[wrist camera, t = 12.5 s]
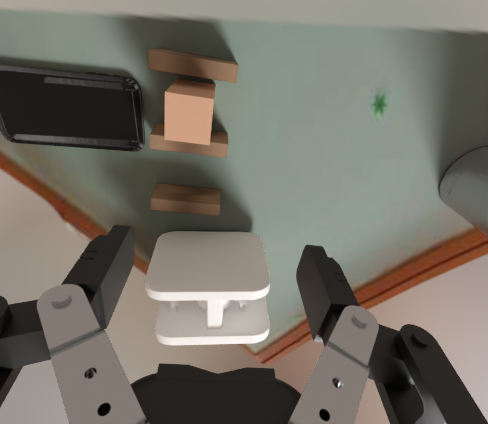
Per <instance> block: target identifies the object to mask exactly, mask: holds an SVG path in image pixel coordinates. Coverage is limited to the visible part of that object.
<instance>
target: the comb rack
mask: <svg viewBox="0 0 488 424" xmlns="http://www.w3.org/2000/svg"><path fill="white" fill-rule="evenodd" d="M148 69H152V70H158V71H164V72H171V73H177V74H183V75H189V76H196V77H202V78H208V79H215V80H221V81H227V82H233V83H236V79H237V72H238V64H237V62H235V61H230V60H224V59H218V58H212V57H206V56H200V55H194V54H188V53H182V52H176V51H171V50H165V49H159V48H155V49H151V50H148ZM164 133H165V125H163V124H157V125H156V126H155V127H154V129H153V130H152V132H151V133H150V149H159V150H167V151H175V152H183V153H191V154H200V155H208V156H216V157H224V158H226V157H227V149H228V135H227V133H223V132H215V131H211V137H210V145H203V144H195V143H187V142H179V141H171V140H164ZM151 210H161V211H172V212H182V213H193V214H204V215H215V216H219V211H220V190H218V189H209V188H199V187H190V186H180V185H171V184H161V183H157V185H156V187H155V190H154V192H153V194H152V197H151Z"/></svg>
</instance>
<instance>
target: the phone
mask: <svg viewBox="0 0 488 424" xmlns="http://www.w3.org/2000/svg"><path fill="white" fill-rule="evenodd" d="M0 131H1V133H2V135H3V136H4V137H5V138H6V139H7V140H9V141H11V142H15V143H26V144H40V145H53V146H67V147H81V148H94V149H108V150H122V151H139V150H141V149H142V148H143V146H144V144H145V132H144V119H143V106H142V94H141V87H140V85H139V83H138V82H137V81H136V80H134V79H133V78H129V77H120V76H116V75H114V76H110V75H108V74H96V73H90V72H86V73H81V72H71V71H61V70H51V69H41V68H32V67H22V66H12V65H2V64H0Z"/></svg>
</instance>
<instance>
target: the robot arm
mask: <svg viewBox="0 0 488 424" xmlns="http://www.w3.org/2000/svg"><path fill="white" fill-rule="evenodd" d="M440 197H441V199H442V201H443V202H444V203H445V204H446V205H447V206H449V207H450V208H451V209H453V210H454V211H455V212H456V213H458V214H459V215H460V216H462V217H463V218H464V219H465V220H467V221H468V222H469V223H471V224H472V225H473V226H475V227H476V228H477V229H478V230H480V231H481V232H482V233H484V234H485V235H486V236H488V147H483V148H479V149H476V150H473V151H471V152H469V153H467V154H466V155H464V156H462V157H461V158H460V159H458V160H457V161H456V162H455V163H454V164H453V165H452V166H451V167H450V168H449V169H448V171H447V172H446V174H445V175H444V177H443V179H442V181H441V185H440ZM134 256H135V251H134V231H133V227H130V226H120V225H114V226H113V227H112V229H111V231H110V232H109V234H108V236H106V235H99V236H98V237H97V238H95V239H94V240H92V241H91V242H90V243H89V244H88V246H87V248H86V249H85V251H84V252H83V253H82V255H81V256H80V259H78V261H77V262H76V264H75V265H74V267H73V268H72V270H71V271H70V273H69V274H68V275H67V277H66V279H65V280H64V281H63V283H62V284H61V285H59V286H56V287H53V288H51V289H49V290H48V291H46V292H45V293H43V294H42V296H40V298H39V299H38V300H34V301H28V302H22V303H16V304H10V305H8V303H7V300H6V299H5V298H4V297H2V296H0V407H1V405H2V403H3V401H4V400H5V398H6V396H7V394H8V392H9V391H10V389H11V387H12V385H13V383H14V382H15V380H16V378H17V376H18V374H19V373H20V371H21V369H22V367H23V366H25V365H29V364H33V363H37V362H41V361H46V360H50V359H51V360H52V364H53V367H54V371H55V375H56V378H57V382H58V385H59V389H60V392H61V396H62V399H63V403H64V406H65V410H66V413H67V417H68V420H69V424H354V421H355V418H356V414H357V411H358V408H359V404H360V401H361V398H362V394H363V391H364V387H365V384H366V381H367V378H370V379H372V380H374V381H375V384H376V387H377V389H378V392H379V395H380V397H381V400H382V403H383V406H384V408H385V411H386V413H387V416H388V419H389V422H390V424H488V422H487V421H486V419H485V417H484V416H483V414H482V413H481V411H480V409H479V408H478V406H477V405H476V403H475V402H474V400H473V398H472V397H471V395H470V394H469V392H468V390H467V389H466V387H465V385H464V384H463V382H462V381H461V379H460V377H459V376H458V374H457V373H456V371H455V369H454V368H453V366H452V365H451V363H450V362H449V360H448V358H447V357H446V355H445V354H444V352H443V350H442V349H441V347H440V346H439V344H438V342H437V341H436V340H435V338H434V337H433V336H432V335H431V334H430V333H428V332H427V331H426V330H424V329H422V328H421V327H418V326H415V325H410V324H407V325H404V326H403V327H402V328H401V329H400V331H397V330H394V329H391V328H388V327H385V326H382V325H380V324H378V322H377V320H376V318H375V317H374V316H373V315H372V314H371V313H370V312H369V311H367V310H366V309H364V308H362V307H360V306H359V304H358V302H357V300H356V298H355V296H354V294H353V292H352V289H351V287H350V285H349V283H347V279H346V277H345V276H344V273H343V271H342V269H341V267H340V265H339V264H338V263H337V262H336V261H335V260H334V259H333V258H329V257H327V255H326V252H325V250H324V248H323V247H322V246H314V245H306V246H305V248H304V250H303V253H302V256H301V259H300V262H299V265H298V268H297V274H296V278H297V284H298V287H299V291H300V294H301V298H302V301H303V305H304V309H305V312H306V316H307V319H308V323H309V326H310V330H311V334H312V337H313V341H314V342H323V343H324V346H325V348H324V350H323V352H322V354H321V356H320V358H319V360H318V362H317V364H316V366H315V368H314V370H313V372H312V374H311V376H310V378H309V380H308V382H307V384H306V386H305V388H304V390H303V392H302V394H300V393H299V392H298V391H297V390H296V389H294V388H293V387H292V386H290V385H289V384H287V383H285V382H283V381H281V380H279V379H276V378H275V372H274V369H267V368H242V369H238V370H234V371H229V372H225V373H220V374H216V373H213V372H210V371H206V370H203V369H200V368H197V367H193V366H190V365H179V364H159V367H158V372H157V373H155V374H151V375H148V376H145V377H143V378H141V379H139V380H137V381H135V382H134V383H132V384H130V383H129V381H128V379H127V377H126V374H125V372H124V370H123V368H122V366H121V364H120V361H119V360H118V357H117V355H116V353H115V351H114V348H113V346H112V344H111V342H110V340H109V338H108V335H107V333H106V331H105V330H104V329H106V328H107V326H108V324H109V321H110V319H111V317H112V314H113V312H114V309H115V307H116V304H117V302H118V300H119V297H120V295H121V293H122V290H123V288H124V286H125V283H126V281H127V278H128V276H129V274H130V271H131V269H132V266H133V263H134ZM101 328H102V329H101ZM419 394H420V395H419ZM420 396H421V397H420ZM421 398H422V399H421Z"/></svg>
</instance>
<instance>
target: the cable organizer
mask: <svg viewBox="0 0 488 424" xmlns="http://www.w3.org/2000/svg"><path fill="white" fill-rule="evenodd" d="M145 288H146V293H147V294H148V296H150V297H151V298H153V299H155V300H160V302H159V306H158V311H157V315H156V319H155V324H154V331H155V337H156V339H157V340H158V341H159V342H161V343H163V344H166V345H200V344H244V343H257V342H260V341H262V340H264V339H265V338H266V337H267V336H268V333H269V327H270V321H269V315H268V309H267V303H266V297H265V295H266V294H267V293H268V292H269V288H270V275H269V270H268V265H267V260H266V255H265V250H264V245H263V240H262V238H261V237H260V236H259V235H257V234H254V233H250V232H198V231H173V232H167V233H164V234H162V235H161V236H159V237H158V239H157V242H156V245H155V249H154V252H153V255H152V258H151V262H150V265H149V268H148V271H147V274H146V278H145Z"/></svg>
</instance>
